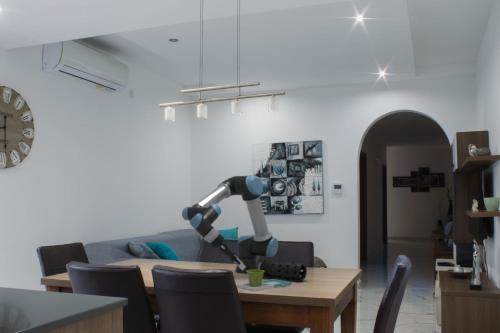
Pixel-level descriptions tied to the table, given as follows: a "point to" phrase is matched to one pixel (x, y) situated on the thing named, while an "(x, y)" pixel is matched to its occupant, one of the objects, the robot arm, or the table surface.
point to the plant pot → (255, 277)
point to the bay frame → (265, 285)
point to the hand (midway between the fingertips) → (242, 266)
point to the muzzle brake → (283, 270)
